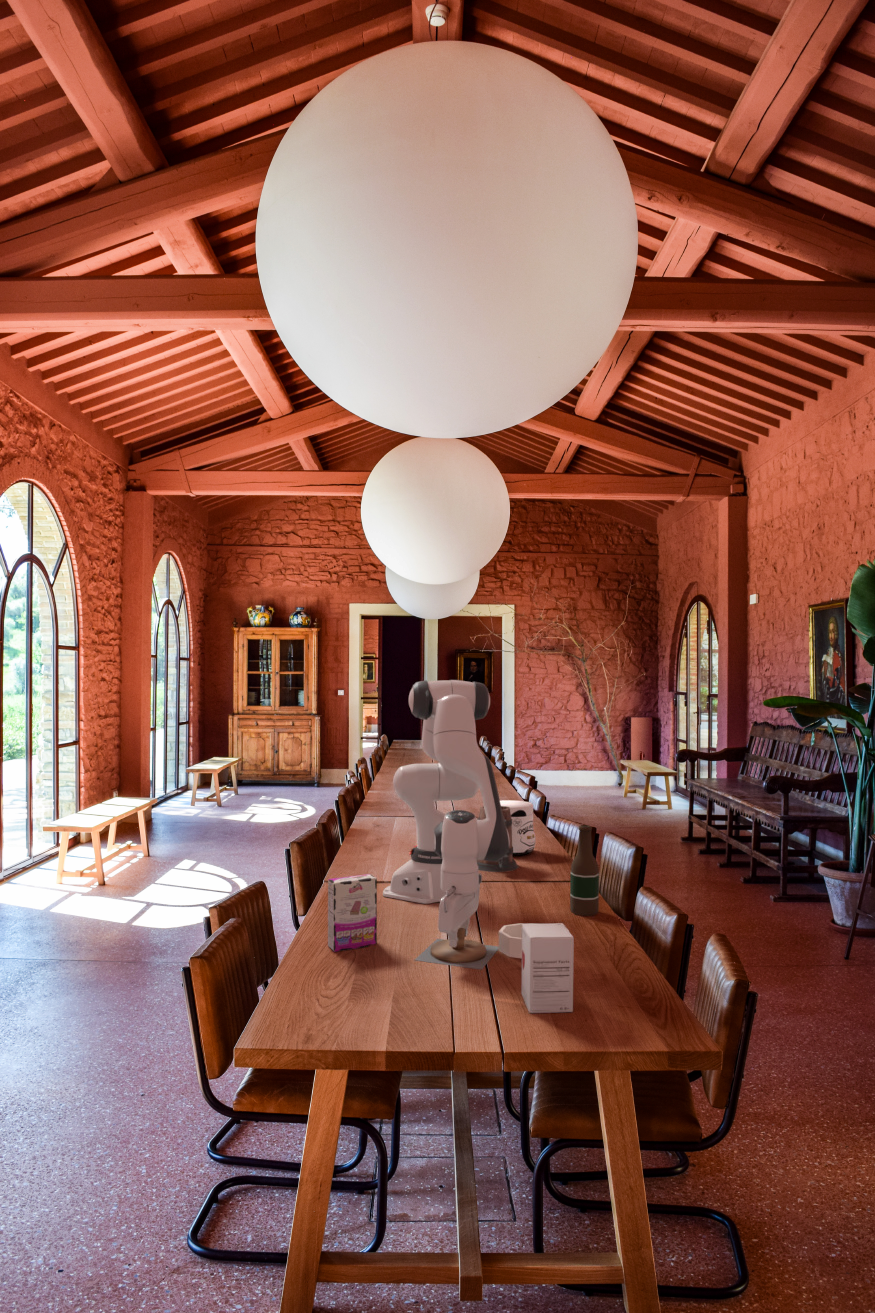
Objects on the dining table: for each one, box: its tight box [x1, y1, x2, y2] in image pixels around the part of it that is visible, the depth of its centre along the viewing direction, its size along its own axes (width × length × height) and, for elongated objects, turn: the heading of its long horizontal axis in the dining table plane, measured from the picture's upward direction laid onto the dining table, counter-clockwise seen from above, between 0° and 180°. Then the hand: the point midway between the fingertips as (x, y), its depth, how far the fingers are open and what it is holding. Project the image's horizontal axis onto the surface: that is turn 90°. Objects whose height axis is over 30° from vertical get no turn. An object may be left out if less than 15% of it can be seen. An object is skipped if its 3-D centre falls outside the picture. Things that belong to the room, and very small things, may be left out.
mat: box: [414, 938, 499, 970], centre depth 193 cm, size 16×16×1 cm
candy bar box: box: [327, 873, 378, 953], centre depth 199 cm, size 11×5×16 cm, turn 117°
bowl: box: [498, 923, 525, 960], centre depth 196 cm, size 12×12×5 cm
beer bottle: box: [569, 824, 600, 917], centre depth 229 cm, size 8×8×24 cm
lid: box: [431, 927, 486, 963], centre depth 193 cm, size 13×13×6 cm
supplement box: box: [521, 922, 575, 1014], centre depth 166 cm, size 9×9×15 cm
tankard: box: [476, 805, 520, 873], centre depth 279 cm, size 24×17×20 cm
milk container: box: [500, 799, 536, 856], centre depth 303 cm, size 17×17×18 cm
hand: (458, 941), depth 193 cm, fingers open, 6 cm apart
